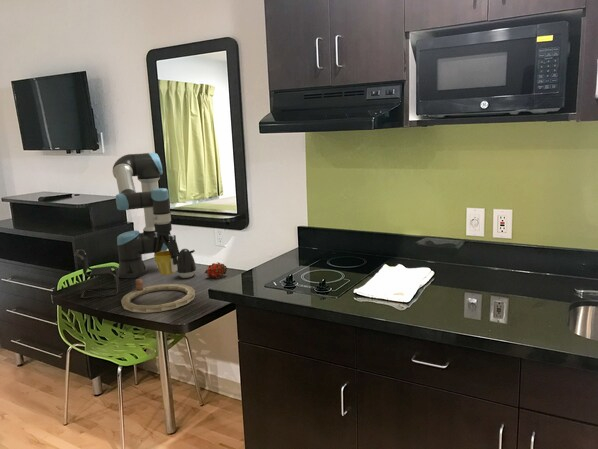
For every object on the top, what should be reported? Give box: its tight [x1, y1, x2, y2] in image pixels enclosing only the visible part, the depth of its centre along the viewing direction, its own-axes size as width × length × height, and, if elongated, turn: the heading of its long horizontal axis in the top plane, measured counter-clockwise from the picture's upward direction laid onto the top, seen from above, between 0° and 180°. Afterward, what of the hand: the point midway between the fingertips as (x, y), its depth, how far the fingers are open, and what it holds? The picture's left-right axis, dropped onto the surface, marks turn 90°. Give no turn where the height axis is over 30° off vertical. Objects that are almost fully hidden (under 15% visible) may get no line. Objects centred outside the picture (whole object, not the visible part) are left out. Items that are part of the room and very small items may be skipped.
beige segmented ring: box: [120, 278, 196, 314], centre depth 224 cm, size 32×32×7 cm
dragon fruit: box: [204, 262, 228, 279], centre depth 254 cm, size 8×8×12 cm
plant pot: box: [153, 249, 178, 276], centre depth 226 cm, size 10×10×10 cm
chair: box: [73, 248, 120, 300], centre depth 235 cm, size 13×17×22 cm
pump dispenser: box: [176, 248, 197, 279], centre depth 257 cm, size 10×10×15 cm
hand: (167, 269), depth 227 cm, fingers closed on plant pot, 10 cm apart
